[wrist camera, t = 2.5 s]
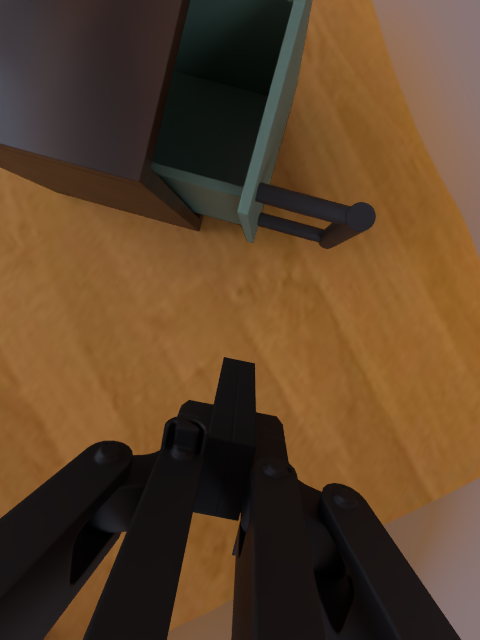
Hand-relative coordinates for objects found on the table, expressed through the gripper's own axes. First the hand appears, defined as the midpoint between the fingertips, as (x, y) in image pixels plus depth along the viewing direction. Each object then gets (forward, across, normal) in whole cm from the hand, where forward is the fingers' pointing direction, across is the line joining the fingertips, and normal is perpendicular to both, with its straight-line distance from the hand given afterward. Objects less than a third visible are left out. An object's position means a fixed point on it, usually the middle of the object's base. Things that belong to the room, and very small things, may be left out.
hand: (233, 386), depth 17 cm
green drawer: (+18, -3, +13) cm, 22 cm away
